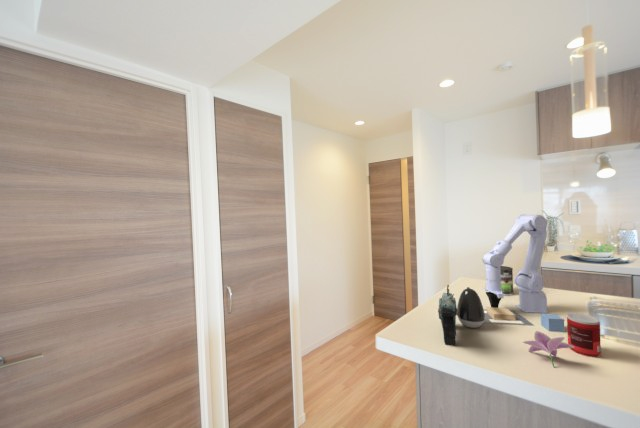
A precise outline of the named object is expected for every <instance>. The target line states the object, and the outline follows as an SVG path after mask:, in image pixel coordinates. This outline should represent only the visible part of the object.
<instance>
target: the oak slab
mask: <svg viewBox="0 0 640 428" xmlns="http://www.w3.org/2000/svg"><path fill="white" fill-rule="evenodd" d="M486 310H487V313H488V314H489V315H490V316H491V317H492V318H493V319H494V320H507V321H515V314H513V313H512V312H511V311H510V309H509V308H507V307H498V308H494V307H491V306H489V307H486Z"/></svg>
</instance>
